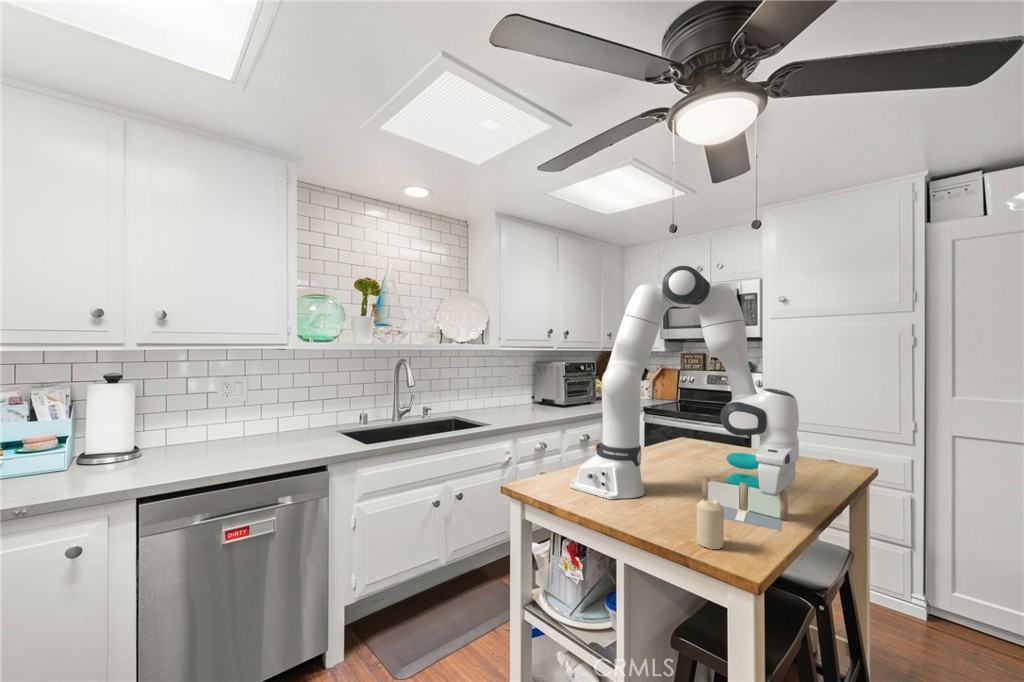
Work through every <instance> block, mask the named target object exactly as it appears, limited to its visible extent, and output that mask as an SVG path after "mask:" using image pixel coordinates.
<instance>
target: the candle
mask: <svg viewBox="0 0 1024 682" xmlns="http://www.w3.org/2000/svg"><path fill="white" fill-rule="evenodd" d="M724 521H725V519H724V508H723V507H722V505H721V504H720V503H719V502H718V501H717V500H716V499H711V498H708V499H705V498H703V499H702V498H701V500H700V501H699V502H698V503H697V504H696V543H697V545H698V544H700V545H701V546H700V545H699V546H700V547H702V546H703V547H702V548H704V547H706V548H705V549H707V548H711V549H710V550H712V549H719V550H721V549H720V548H722V547H723V548H724V540H725V539H724V535H725V534H724V533H725V532H724ZM723 548H722V549H723Z"/></svg>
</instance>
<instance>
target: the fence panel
mask: <svg viewBox="0 0 1024 682" xmlns="http://www.w3.org/2000/svg"><path fill="white" fill-rule="evenodd" d="M788 493H789V491H787V490H786V489H785V490H783V491H781V492H780V493H779V494H778V495H777V496H770V495H766V494H762V493H761V491H760V489H757V488H753V487H749V488H748V491H747V502H748V510H749V511H753V512H757V513H761V514H765V515H768V516H772V517H776V518H780V519H782V521H788V515H789V514H788V511H789V509H788V508H789V504H788V502H789V494H788Z"/></svg>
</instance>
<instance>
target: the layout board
mask: <svg viewBox="0 0 1024 682" xmlns="http://www.w3.org/2000/svg"><path fill="white" fill-rule="evenodd" d="M722 507H723V508H724V520H728V521H732V522H738V523H741V524H742V523H743V524H747V525H751V526H755V527H756V526H757V527H761V528H766V529H771V530H775V531H780V532H781V530H782V524H783V523H782V522H783V520H782V519H780V518H776V517H772V516H768V515H765V514H761V513H757V512H753V511H749V510H748V501H747V510H741V509H740V508H739V509H735V508H730V507H725V506H722Z"/></svg>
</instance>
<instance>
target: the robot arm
mask: <svg viewBox="0 0 1024 682" xmlns="http://www.w3.org/2000/svg"><path fill="white" fill-rule="evenodd" d="M689 308H693V309H694V310H695V311H696V313H697V315H698V318H699V320H700V321H699V322H700V327H701V332H702V336H703V339H704V341H705V345H706V346H707V349H708V351H709V352H710V353H711V354H712V355H713V356H715V357H716V359H718V361H719V362H721V364H722V366H723V367H724V369H725V372H726V375H727V380H728V384H729V388H730V392H731V401H730V402H728V403H727V404H725V405H724V406H723V408H722V409H721V411H720V414H719V416H720V422H721V425H722V427H723V428H724V429H725V430H726V431H727V432H729V434H732V435H734V436H741V437H742V436H743V437H744V436H756V435H757V436H759V445H758V450H757V451H756V453H755V455H756V461H757V462H759V465H758V468H757V470H758V471H757V473H758V479H759V487H760V491H761V493H762V494H766V495H770V496H777V495H778V494H779V493H780V492H781V491H783V490H785V491H786V488H787V487H788V486H790V484H792V483H793V482H794V481H795V480H796V476H797V474H796V473H797V472H796V471H797V470H796V462H799V461H800V452H799V451H800V441H799V437H798V429H799V426H800V423H799V422H800V420H799V419H800V417H799V405H798V400H797V398H796V397H795V396H794V395H793V394H792V393H790V392H788V391H785V390H782V389H781V390H780V389H776V388H763V389H762V390H761V391H759V392H757V391H756V387H755V383H754V380H753V376H752V375H753V374H752V371H751V366H750V364H749V357H748V356H749V354H748V338H747V337H748V335H747V329H746V323H745V317H744V314H743V311H742V308H741V305H740V302H739V300H738V296H737V295H736V292H735V291H734V290H733V288H731V287H730V286H726V285H713V286H711V283H710V282H709V281H708V280H707V279H706V278H705V277H704V276H703V275H702V274H701V273H700V272H699V270H698V269H696V268H694V267H692V266H689V265H678V266H675V267H673V268H671V269H670V270H669V271H667V273H666V274H665V275H664V277H663V279H662V282H661V283H660V284H653V283H643V284H641V285H639V286H637V287H636V289H635V290H634V292H633V294H632V295H631V298H630V299H629V302H628V304H627V306H626V308H625V310H624V311H625V312H624V314H623V317H622V320H621V323H620V326H619V328H618V332H617V335H616V337H615V341H614V345H613V348H612V351H611V354H610V357H609V360H608V363H607V366H606V369H605V371H604V373H603V374H602V376H601V377H602V378H601V408H602V409H601V410H602V411H601V412H602V414H601V415H602V425H601V426H602V430H601V431H602V433H601V434H602V436H601V437H602V440H600V441H599V443H597V444H596V445H595V446H594V451H596V454H594V455H593V456H591V457H590V458H588V459H587V460H586V461H583V463H582V464H581V465H579V467H578V469H577V474H576V475H577V476H576V477H574V478H572V479H571V480H570V482H569V488H570V489H574V490H577V491H581V492H583V493H586V494H590V495H594V496H596V495H597V497H600V498H603V497H604V498H603V499H606V498H607V499H608V500H617V499H634V498H640V497H642V496H644V495H645V493H646V491H645V487H644V484H643V479H642V472H641V463H642V445H640V440H641V439H640V433H641V432H640V431H641V430H640V429H641V427H640V426H641V425H640V421H641V419H640V418H641V387H642V386H641V381H642V377H643V374H644V372H645V369H646V366H647V364H648V361H649V358H650V355H651V353H652V351H653V348H654V344H655V342H656V339H657V336H658V334H659V331H660V326H661V323H662V321H663V319H664V316H665V313H666V312H667V310H683V309H684V310H685V309H689Z"/></svg>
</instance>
